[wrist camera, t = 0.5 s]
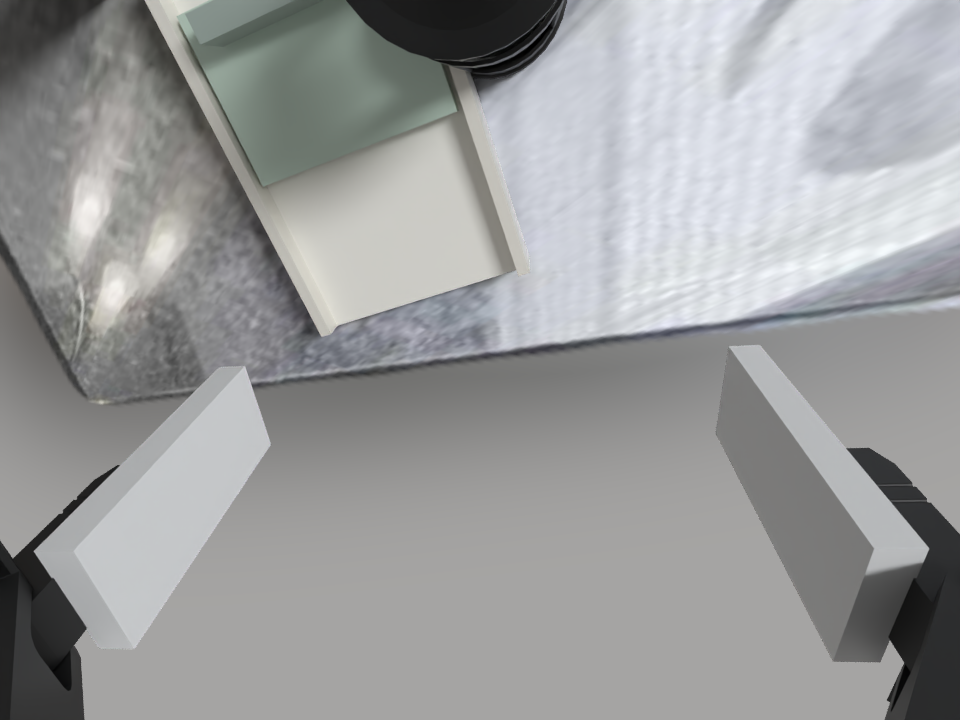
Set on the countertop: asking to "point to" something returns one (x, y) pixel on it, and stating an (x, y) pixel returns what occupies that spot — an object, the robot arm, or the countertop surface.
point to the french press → (467, 30)
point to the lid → (310, 80)
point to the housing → (377, 204)
